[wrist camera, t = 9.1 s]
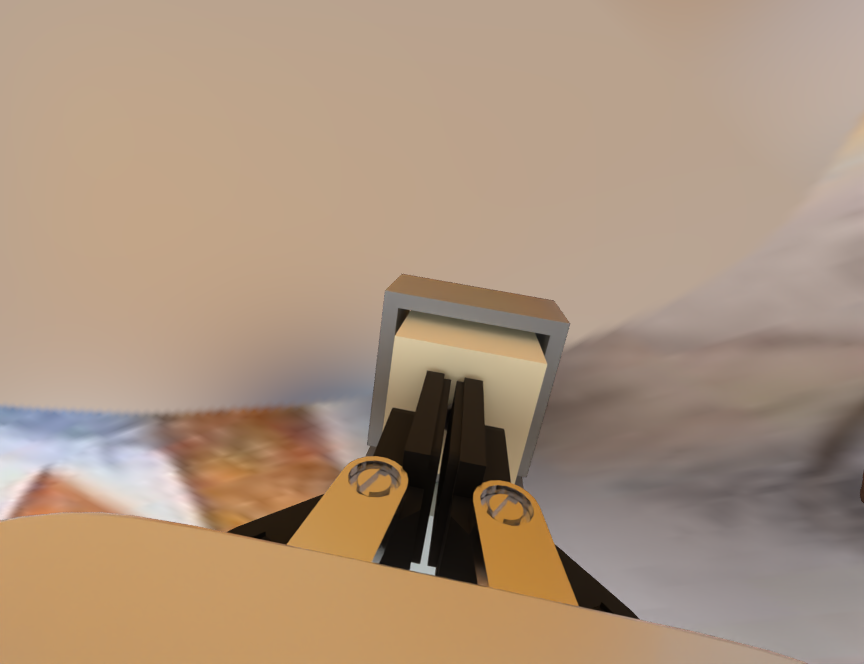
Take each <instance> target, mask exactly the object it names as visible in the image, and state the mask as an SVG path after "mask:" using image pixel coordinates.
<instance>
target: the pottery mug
mask: <svg viewBox="0 0 864 664" xmlns="http://www.w3.org/2000/svg"><path fill="white" fill-rule="evenodd" d="M860 497H861V501H862V502H863V503H864V473H863V481H862V487H861V489H860Z"/></svg>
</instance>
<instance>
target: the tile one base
mask: <svg viewBox="0 0 864 664" xmlns="http://www.w3.org/2000/svg"><path fill="white" fill-rule="evenodd" d="M410 310H413V311H418V312H424V313H429V314H435V315H440V316H446V317H451V318H457V319H462V320H468V321H473V322H479V323H484V324H490V325H495V326H501V327H507V328H512V329H518V330H523V331H529V332H534V333H535V334H536V337H537V339H538V342H539V344H540V347H541V349H542V352H543V354H544V357H545V359H546V362H547V368H546V371H545V375H544V379H543V382H542V386H541V390H540V393H539V397H538V401H537V404H536V408H535V412H534V415H533V419H532V423H531V426H530V430H529V433H528V437H527V441H526V444H525V448H524V452H523V455H522V459H521V463H520V466H519V470H518V474H517V476H522V477H527V474H528V471H529V467H530V463H531V460H532V456H533V453H534V449H535V446H536V442H537V439H538V435H539V432H540V428H541V425H542V421H543V418H544V414H545V411H546V407H547V404H548V400H549V397H550V393H551V390H552V386H553V382H554V379H555V375H556V372H557V368H558V365H559V361H560V358H561V354H562V351H563V347H564V344H565V340H566V337H567V333H568V330H569V326H570V323H569V321H568V320H567V318H566V317H565V316H564V314H563V313H562V311H561V310H560V308H559V307H558V306H557V304H556V303H555V301H553V300H548V299H542V298H536V297H531V296H525V295H519V294H513V293H508V292H502V291H497V290H490V289H485V288H480V287H474V286H468V285H462V284H457V283H451V282H445V281H439V280H434V279H429V278H423V277H417V276H411V275H406V274H402V275H401V276H400V277H398V278H397V279H396V281H394V282H393V283H392V284H391V285H390V286H389V287H388V288H387V289H386V290H385V295H384V303H383V312H382V321H381V330H380V339H379V347H378V355H377V364H376V373H375V382H374V390H373V399H372V407H371V416H370V425H369V433H368V442H367V445H370V446H375V447H377V445H378V442H379V440H380V437H381V435H382V431H383V423H384V416H385V408H386V400H387V392H388V385H389V377H390V369H391V361H392V354H393V346H394V338H395V335H396V333H397V331H398V330H399V328H400V327H401V325H402V324H403V322H404V320H405V319H406V317H407V316H408V314H409V312H410Z"/></svg>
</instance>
